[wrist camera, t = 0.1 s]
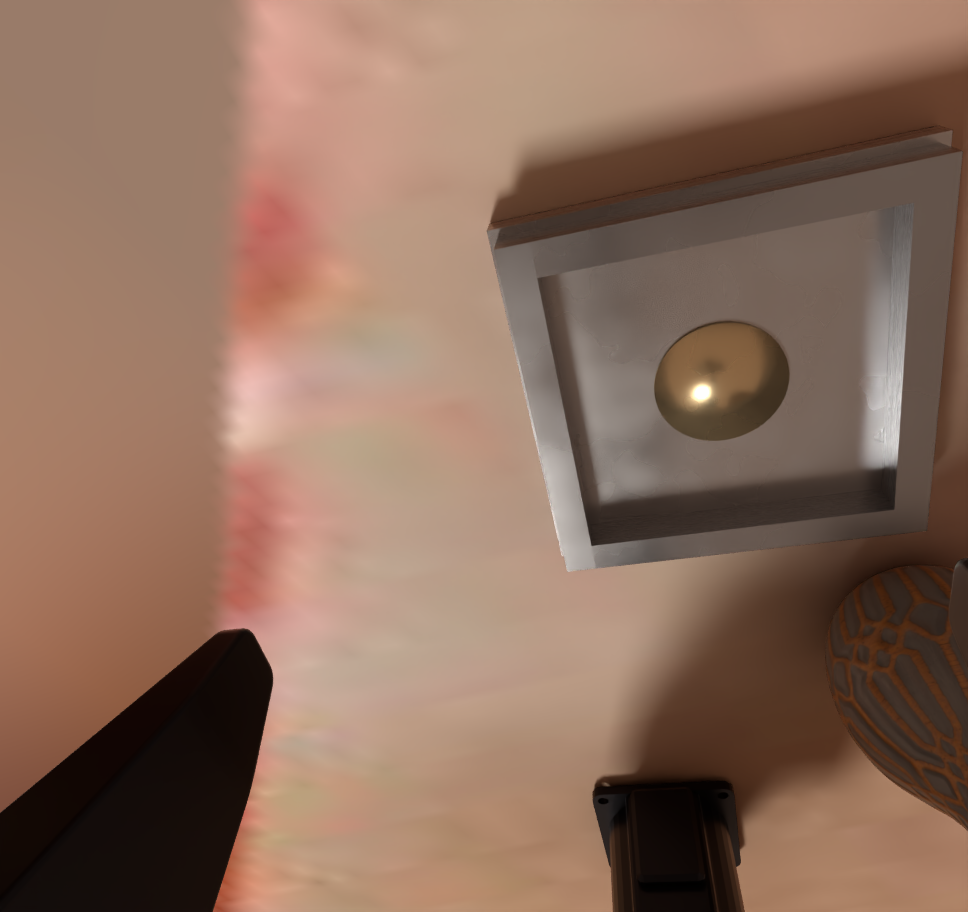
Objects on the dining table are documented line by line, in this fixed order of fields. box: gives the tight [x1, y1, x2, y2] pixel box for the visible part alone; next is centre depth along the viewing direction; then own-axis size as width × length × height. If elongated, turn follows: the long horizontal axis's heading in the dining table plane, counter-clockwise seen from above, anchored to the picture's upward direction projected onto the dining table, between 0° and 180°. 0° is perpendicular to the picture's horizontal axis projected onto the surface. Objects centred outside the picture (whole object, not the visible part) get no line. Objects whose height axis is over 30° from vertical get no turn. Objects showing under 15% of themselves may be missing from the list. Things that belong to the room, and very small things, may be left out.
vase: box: [825, 565, 968, 831], centre depth 23 cm, size 7×7×9 cm
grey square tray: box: [487, 126, 963, 572], centre depth 22 cm, size 12×12×2 cm
